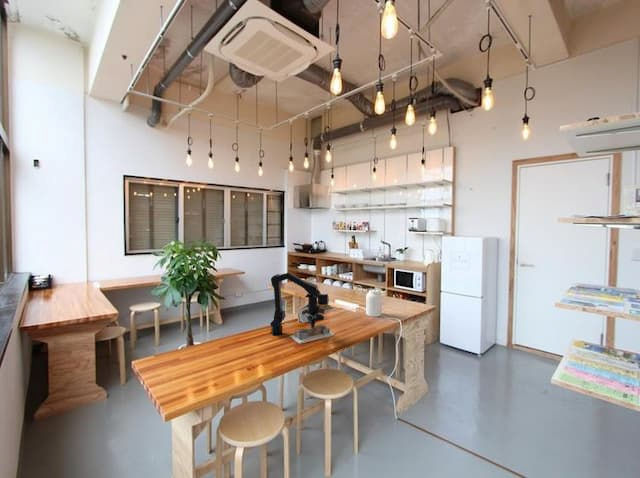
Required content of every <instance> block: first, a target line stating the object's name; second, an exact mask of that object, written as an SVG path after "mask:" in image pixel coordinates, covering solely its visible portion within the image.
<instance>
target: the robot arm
mask: <svg viewBox="0 0 640 478" xmlns="http://www.w3.org/2000/svg"><path fill="white" fill-rule="evenodd" d="M286 280H288V281H290V282H292V283H293V284H295V285H297V286H299V287H301V288H302V289H304V291H305V292H306V293H307V294H306V295H305V296H304V297H305V298H308V299H307V302H308V304H307V305H306V308H308V309H305V308H303V309H304V310H302V309H301V310H302V314H303V315H305V313H307V316H306V317H307V319H308V321H309V322H308V323H309V324H310V327H312V328H313V327H314V326H316V322H319V321H324V320H325V316H324V315H325V311H326V309H325V308H322V307H321V306H322V305H324V306H329V302H330V299H329V294H328V293H326V294H325V293H321V291H320V290H319V287H318V285H317V284H316V283H313V282H309V281H305V280H304V279H302V278H300V277H298V276H297V275H295V274H293V273H291V271H289V272H286V273H285V272H284V273H282V274H281V273H277V274H275V275H273V276H271V278H270V282H271V285H272V289H273V294H274V310H275V311H274V313H273V320H272V321H271V322H270V323H269V324H270V327H271V329H270V330H271V331H270V332H269V333H270V334H271V335H272V336H279V335H283V334H284V333H283V325H282V323H283V321H284V320H285V318H286V317H287V316H286V310H283V305H282V289H281V288H282V283H283V281H286Z"/></svg>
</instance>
